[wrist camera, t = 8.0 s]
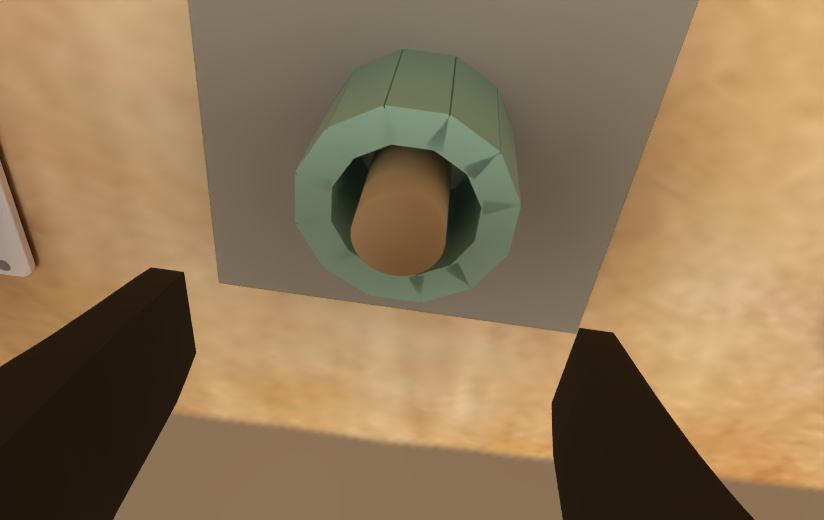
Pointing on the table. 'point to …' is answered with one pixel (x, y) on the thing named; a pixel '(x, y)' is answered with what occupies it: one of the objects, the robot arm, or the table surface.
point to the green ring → (419, 128)
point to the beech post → (403, 211)
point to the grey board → (535, 153)
